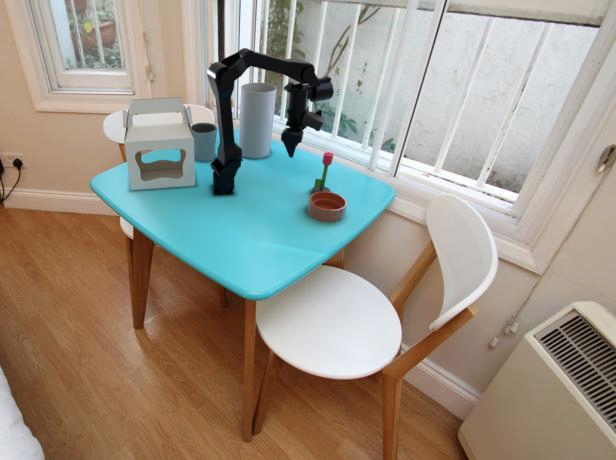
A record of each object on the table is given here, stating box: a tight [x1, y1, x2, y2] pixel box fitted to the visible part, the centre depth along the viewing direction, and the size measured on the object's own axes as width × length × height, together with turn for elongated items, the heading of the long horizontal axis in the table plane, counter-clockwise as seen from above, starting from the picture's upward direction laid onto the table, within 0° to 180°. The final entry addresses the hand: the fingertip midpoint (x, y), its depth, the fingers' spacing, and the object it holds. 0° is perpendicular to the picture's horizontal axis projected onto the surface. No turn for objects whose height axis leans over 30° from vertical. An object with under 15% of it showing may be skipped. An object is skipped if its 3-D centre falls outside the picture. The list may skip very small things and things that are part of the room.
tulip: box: [311, 151, 334, 194], centre depth 118 cm, size 6×6×14 cm
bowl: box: [306, 191, 348, 223], centre depth 112 cm, size 11×11×4 cm
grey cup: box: [191, 122, 218, 163], centre depth 143 cm, size 10×10×12 cm
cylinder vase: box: [237, 82, 277, 160], centre depth 141 cm, size 12×12×25 cm
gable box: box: [122, 96, 196, 191], centre depth 124 cm, size 22×13×28 cm, turn 96°
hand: (293, 151), depth 125 cm, fingers open, 9 cm apart
